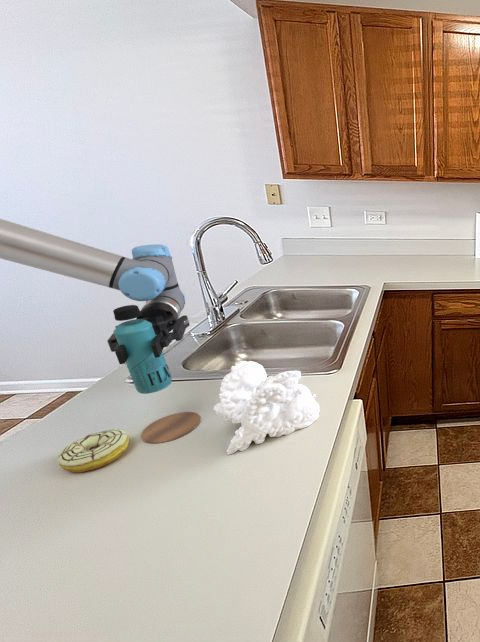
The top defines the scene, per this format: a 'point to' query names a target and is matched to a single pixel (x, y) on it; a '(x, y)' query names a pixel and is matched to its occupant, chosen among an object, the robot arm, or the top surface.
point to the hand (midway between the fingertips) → (137, 354)
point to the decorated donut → (93, 451)
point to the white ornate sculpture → (264, 404)
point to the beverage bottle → (141, 351)
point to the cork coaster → (171, 427)
